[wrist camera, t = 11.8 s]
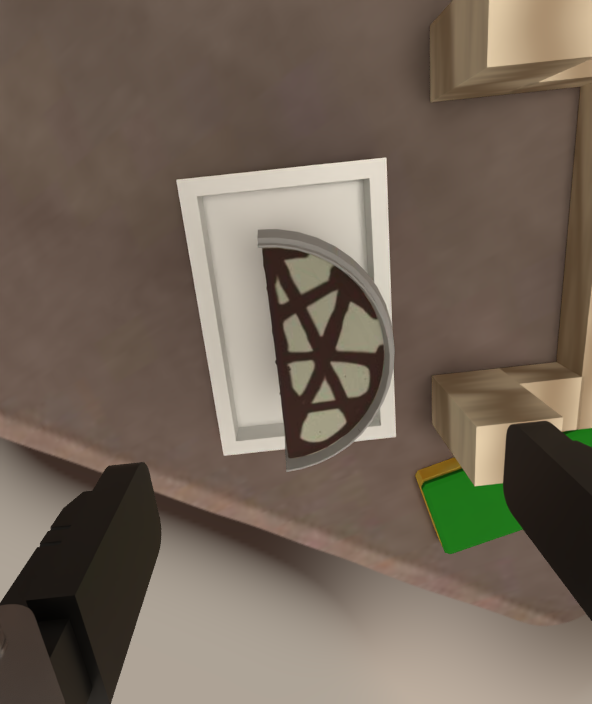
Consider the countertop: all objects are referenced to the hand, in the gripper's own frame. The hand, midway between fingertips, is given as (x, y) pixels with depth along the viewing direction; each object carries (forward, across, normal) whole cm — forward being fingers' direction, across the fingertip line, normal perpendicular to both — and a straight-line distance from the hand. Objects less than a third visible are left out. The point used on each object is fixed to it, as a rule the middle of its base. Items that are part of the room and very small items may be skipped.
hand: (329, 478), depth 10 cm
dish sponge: (+23, -16, +17) cm, 33 cm away
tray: (+22, 0, +2) cm, 22 cm away
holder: (+22, -15, -2) cm, 27 cm away
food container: (+22, -2, +2) cm, 22 cm away
